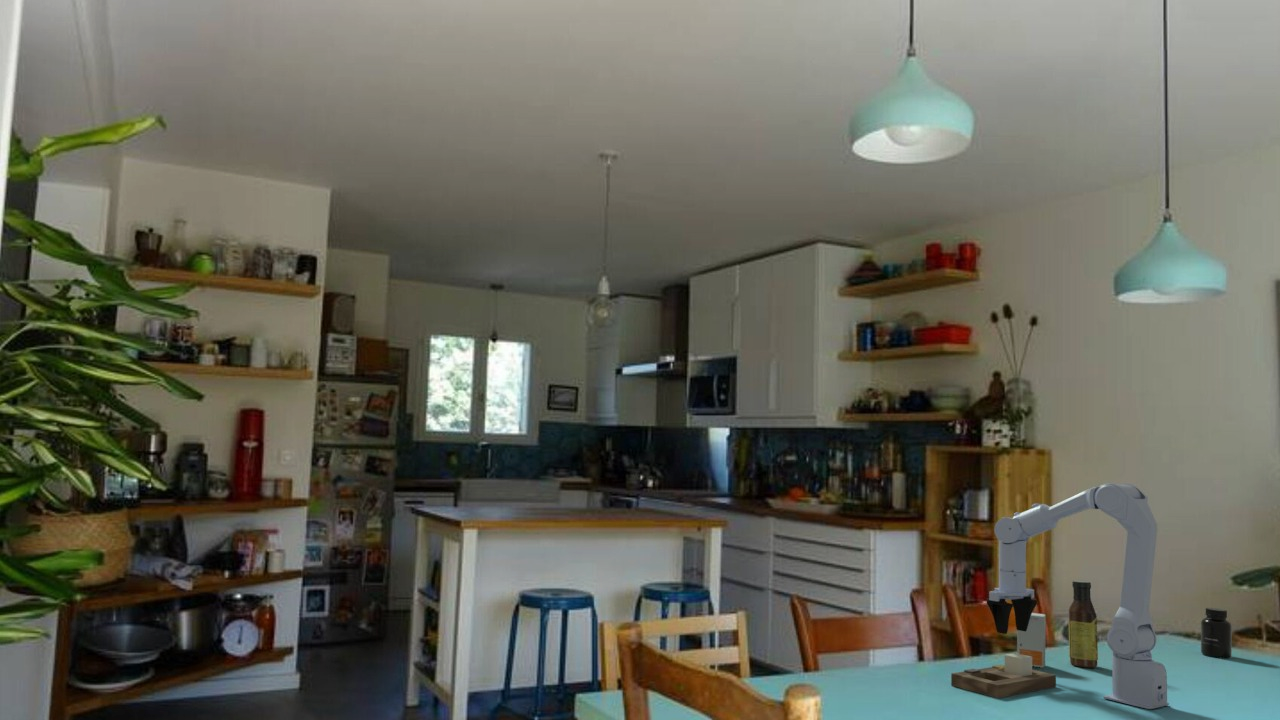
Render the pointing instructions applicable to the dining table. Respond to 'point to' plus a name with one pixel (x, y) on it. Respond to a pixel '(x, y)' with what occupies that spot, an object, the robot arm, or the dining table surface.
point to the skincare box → (1033, 640)
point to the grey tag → (972, 671)
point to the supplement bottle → (1216, 634)
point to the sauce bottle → (1082, 627)
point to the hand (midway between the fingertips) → (1011, 631)
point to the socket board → (1002, 682)
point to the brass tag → (999, 666)
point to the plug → (1018, 664)
